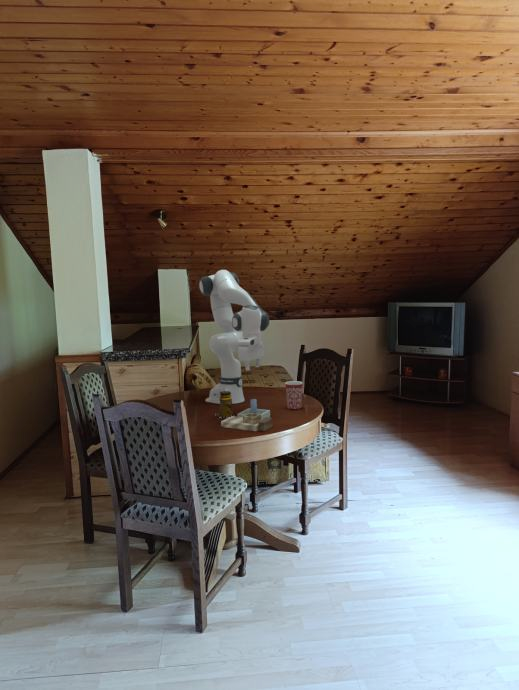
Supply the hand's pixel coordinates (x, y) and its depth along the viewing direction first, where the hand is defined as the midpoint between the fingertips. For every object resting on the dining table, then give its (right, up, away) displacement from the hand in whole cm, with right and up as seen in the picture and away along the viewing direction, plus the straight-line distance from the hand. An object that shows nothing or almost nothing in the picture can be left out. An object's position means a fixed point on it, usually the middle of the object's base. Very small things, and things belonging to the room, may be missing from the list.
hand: (252, 368), depth 218 cm
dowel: (+1, -24, +3) cm, 24 cm away
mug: (+22, -22, +24) cm, 39 cm away
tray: (+1, -25, +3) cm, 25 cm away
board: (-4, -26, -8) cm, 27 cm away
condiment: (-14, -24, +11) cm, 30 cm away
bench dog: (+6, -26, -13) cm, 30 cm away
